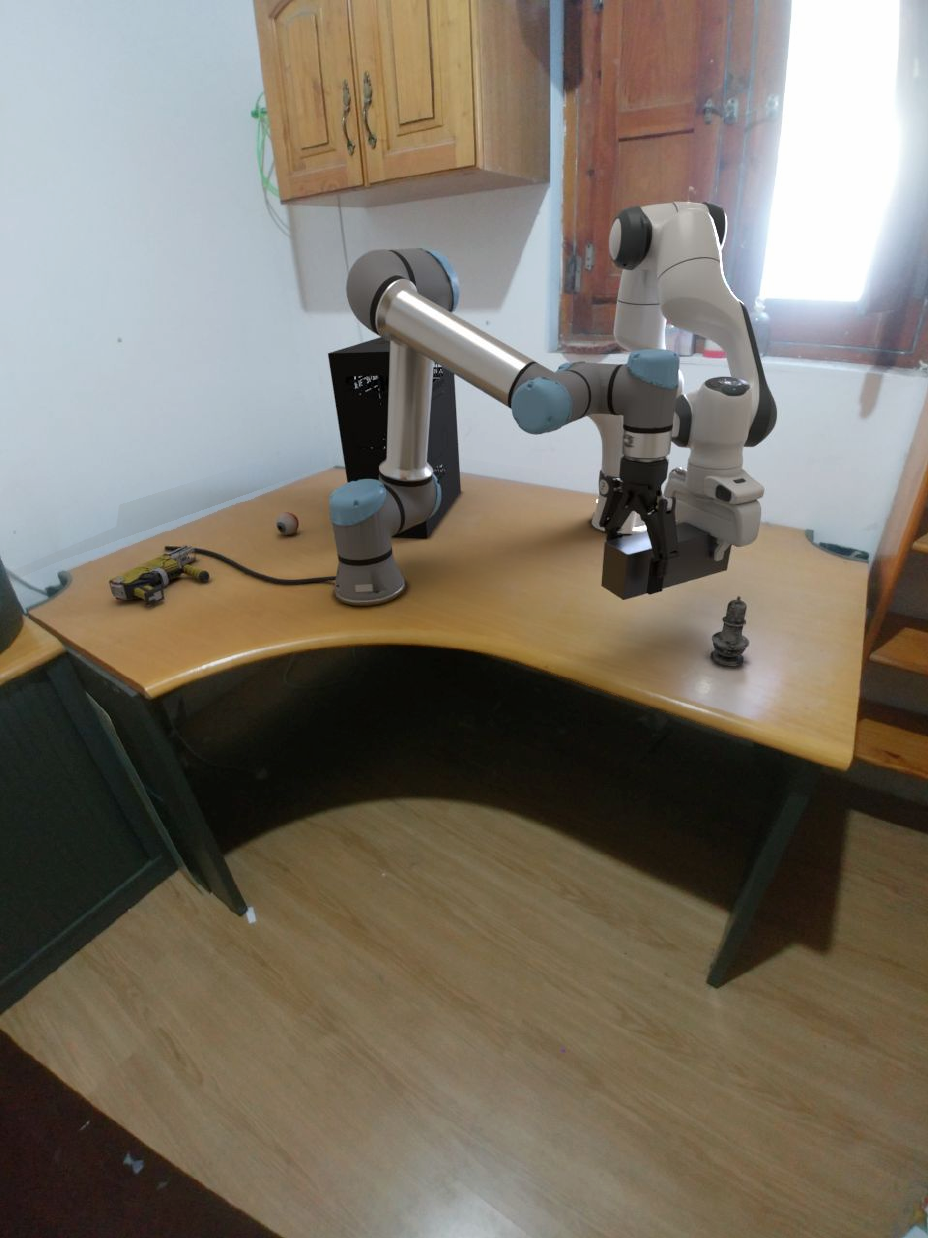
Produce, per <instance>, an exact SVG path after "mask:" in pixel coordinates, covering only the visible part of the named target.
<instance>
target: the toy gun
mask: <svg viewBox="0 0 928 1238" xmlns="http://www.w3.org/2000/svg"><path fill="white" fill-rule="evenodd" d="M179 547H180V548H177V549H176V550H170V552H168V553H163V554H161V555H159V556H157V557H155V558H153V559H151V560H149V561H147V562H145V563H142V564H139V565H138V566H136V567H133V568H132V569H129V570H128V571H125V572H123V573H121V574H119V575H117V576H115V577H113V578H111V579H110V580H108V583H109V587H110V591H111V594H112V597H113V598H115V600H117V601H118V600H119V601H120V602H121V601H122V602H123V601H125V600H126V601H131V600H135V599H143V600H144V601H145V605H146V607H150V606H153V605H155V604H157V603H159V602H162V601H164V600H165V596H164V591H163V590H164V589H163V588H164V587H166V586H168V585H169V581H171V580H173V579H175V578H178V577H181V575H182V574H184V575H185V576H189V577H191V578H194V579H196V580H199V581H200V582H202V583H205V582H207V581H209V580H210V573H209V572H208V571H207V570H202V569H200V568H198V567H195V566H192V565H191V564H190V563H192V562H193V561H196V560H197V556H196V552H195V550H194V548H195V547H194V546H192V545H189V546H188V545H187V544H184V545H182V546H179ZM186 547H187V548H186ZM193 551H194V552H193ZM191 553H193V556H190V554H191Z"/></svg>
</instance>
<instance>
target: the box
mask: <svg viewBox="0 0 928 1238" xmlns="http://www.w3.org/2000/svg"><path fill="white" fill-rule="evenodd" d="M676 527H677V536H678V545H679V554H680V555H679V557H678V558H675V559H671V560H668V566H667V574H666V576H665V577H664V580H663V588H662V590H664V589H668V588H671V587H674V586H678V585H681V584H685V583H687V582H691V581H694V580H699V579H701V578H705V577H708V576H712V575H715V574H719V573H722V572H726V571H727V570H728V566H729V562H730V556H731V552H732V546H733V545H730V546H729V547H728V548H727V549H726V550H725V551H724V556H723V559H722V560H719V561H715V560H713V559H711V558H710V555H711V550H713V549H716V548H717V547H718V545H719V544H717V538H716V537H713V536H711V535H710V533H708V532H706V531H704V530H702V529H699V528H697V527H695V526H693V525H690V524H688V523H686V522H683V523H679V524H677V523H676ZM603 544H604V545H603V559H602V570H601V571H602V572H601V584H600V585H601V587H602V588H604V589H605V590H607V591H609V592H610V593H612V594H613V595H614V596H616V597H617V598H619V599H621V600H622V601H626V600H629V599H633V598H636V597H639V596H643V595H646V594H647V584H648V576H649V567H650V558H653V557H654V554H653V550H652V547H651V543H650V540H649V536H648V533H647V531H646V532H642V533H638V534H634V535H633V534H629V535H627V536H622V538H618V539H614V540H610V541H606V540H605V541H604V543H603ZM660 552H662V550H661V551H660ZM647 595H648V594H647Z"/></svg>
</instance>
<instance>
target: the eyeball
mask: <svg viewBox="0 0 928 1238" xmlns="http://www.w3.org/2000/svg"><path fill="white" fill-rule="evenodd" d="M299 525H300V522H299V519H298V517H297V516H296V515H295V514H294V513H292V512H287V511H286V512H282V513H280V514H279V515H278V516H277V517H276V520H275V527H276V529H277V530H278V531H279V532H280V533H281V534H282V535H285V536H286V535H287V536H289V535H293V534H295V533H296V532H297V531H298V529H299Z"/></svg>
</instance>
